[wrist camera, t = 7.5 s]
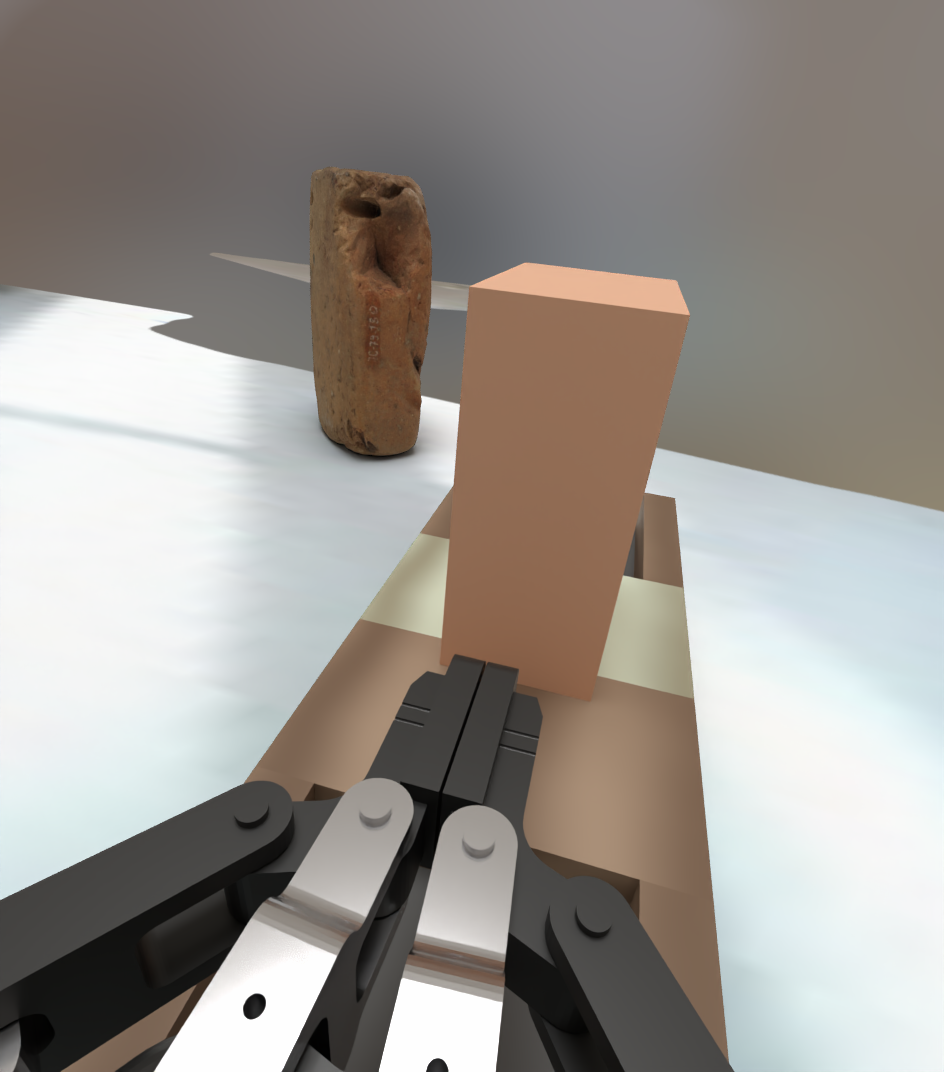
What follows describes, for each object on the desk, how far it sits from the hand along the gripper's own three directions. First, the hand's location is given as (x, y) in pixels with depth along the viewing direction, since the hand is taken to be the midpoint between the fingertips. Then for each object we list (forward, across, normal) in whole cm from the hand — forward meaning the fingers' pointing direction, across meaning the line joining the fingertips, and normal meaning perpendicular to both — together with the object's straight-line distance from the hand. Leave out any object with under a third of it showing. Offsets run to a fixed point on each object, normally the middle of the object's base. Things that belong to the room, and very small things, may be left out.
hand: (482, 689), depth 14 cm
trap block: (+12, 0, +6) cm, 14 cm away
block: (+36, +18, +10) cm, 41 cm away
